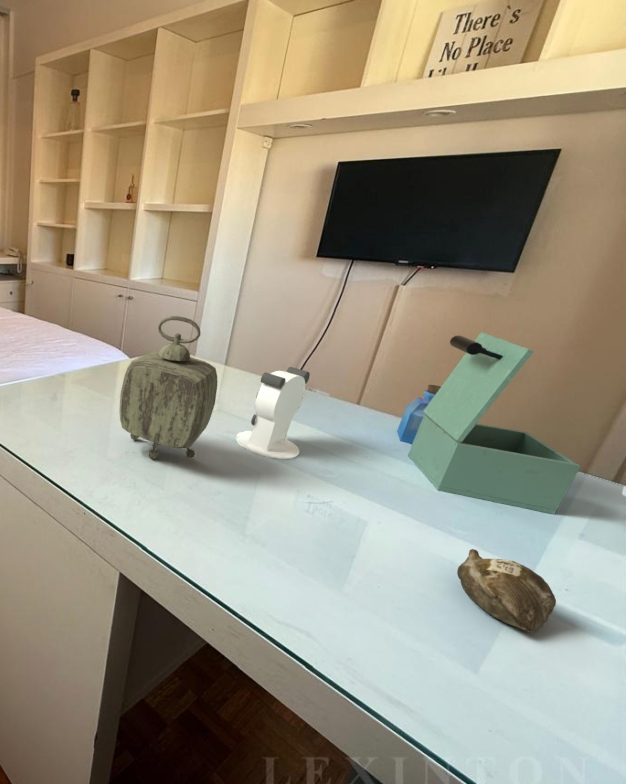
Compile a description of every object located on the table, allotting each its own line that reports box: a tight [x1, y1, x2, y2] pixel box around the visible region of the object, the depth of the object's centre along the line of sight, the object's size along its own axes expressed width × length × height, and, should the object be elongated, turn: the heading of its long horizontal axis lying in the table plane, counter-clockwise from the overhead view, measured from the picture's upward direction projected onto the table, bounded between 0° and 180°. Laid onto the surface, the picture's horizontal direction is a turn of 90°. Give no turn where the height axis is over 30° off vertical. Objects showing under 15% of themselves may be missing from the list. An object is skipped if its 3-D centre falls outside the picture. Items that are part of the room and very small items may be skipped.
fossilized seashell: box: [456, 548, 557, 633], centre depth 52 cm, size 8×7×10 cm
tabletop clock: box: [119, 315, 218, 460], centre depth 78 cm, size 14×9×25 cm, turn 57°
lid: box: [423, 331, 535, 442], centre depth 77 cm, size 16×14×6 cm
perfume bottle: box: [396, 384, 442, 445], centre depth 95 cm, size 6×6×12 cm
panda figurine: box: [235, 366, 311, 460], centre depth 87 cm, size 12×11×15 cm
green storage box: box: [407, 415, 582, 515], centre depth 79 cm, size 16×14×9 cm
